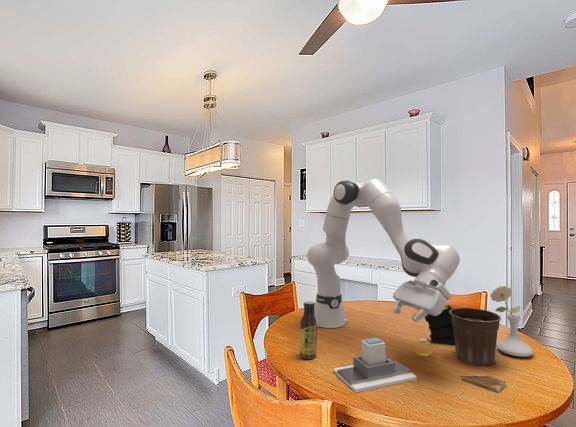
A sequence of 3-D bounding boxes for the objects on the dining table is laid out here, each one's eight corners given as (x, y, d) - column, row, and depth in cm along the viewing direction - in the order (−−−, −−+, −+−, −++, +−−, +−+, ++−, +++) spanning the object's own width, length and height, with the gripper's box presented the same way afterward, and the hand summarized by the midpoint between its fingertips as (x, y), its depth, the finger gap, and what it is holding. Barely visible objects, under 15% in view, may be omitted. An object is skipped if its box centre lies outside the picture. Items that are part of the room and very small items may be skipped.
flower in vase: (527, 349, 126) (525, 283, 126) (538, 361, 115) (537, 290, 115) (488, 345, 130) (486, 282, 130) (495, 356, 119) (494, 287, 119)
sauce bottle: (305, 361, 117) (304, 305, 117) (296, 355, 123) (296, 301, 123) (320, 357, 120) (320, 303, 120) (311, 351, 126) (311, 299, 126)
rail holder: (333, 371, 109) (333, 356, 109) (389, 361, 116) (388, 347, 116) (355, 392, 96) (355, 375, 96) (416, 379, 103) (416, 363, 103)
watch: (415, 356, 121) (413, 340, 121) (414, 353, 123) (413, 337, 124) (433, 357, 119) (431, 340, 119) (432, 354, 122) (430, 338, 122)
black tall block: (470, 342, 129) (451, 306, 131) (437, 353, 132) (420, 318, 134) (468, 339, 132) (450, 304, 134) (436, 350, 136) (419, 316, 137)
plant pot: (502, 373, 107) (501, 323, 107) (447, 362, 115) (446, 316, 115) (501, 355, 120) (500, 311, 121) (452, 346, 129) (451, 305, 129)
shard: (459, 380, 103) (459, 375, 103) (469, 373, 108) (469, 367, 108) (498, 394, 95) (498, 388, 95) (507, 386, 100) (507, 380, 100)
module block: (361, 368, 107) (361, 338, 107) (377, 365, 109) (377, 336, 109) (369, 374, 103) (369, 343, 103) (385, 371, 105) (385, 341, 105)
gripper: (402, 274, 123) (380, 303, 119) (445, 284, 104) (420, 319, 100) (412, 285, 124) (390, 314, 121) (456, 297, 105) (432, 332, 102)
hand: (404, 316), depth 110 cm, fingers open, 8 cm apart
